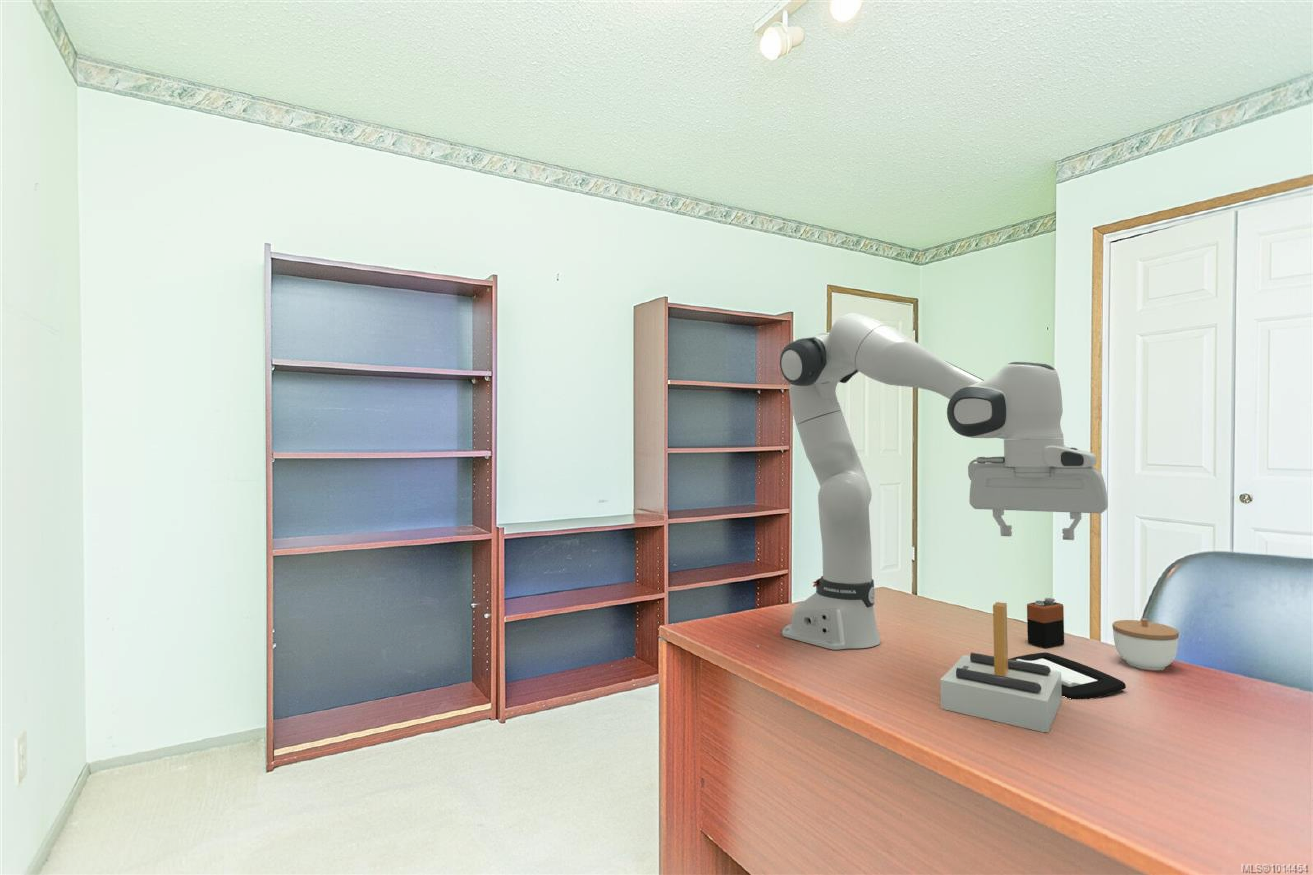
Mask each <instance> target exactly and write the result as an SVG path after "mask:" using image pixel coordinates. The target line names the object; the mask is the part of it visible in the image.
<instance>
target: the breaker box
mask: <svg viewBox="0 0 1313 875" xmlns="http://www.w3.org/2000/svg"><path fill="white" fill-rule="evenodd" d="M969 654H970V655H966V654H963V655H962V656H961V657H960V658H959V660H958V661H956V662H955V663H954V665H952V667H950V669H949V670H948V671H947V672H946V673H945V674H944V675H943V676H942V677H941V678H940V684H939V685H940V709H941V710H946V711H950V712H954V713H958V714H963V715H966V716H967V715H968V716H972V717H975V718H981V719H985V720H989V721H993V722H997V723H1002V724H1007V725H1010V726H1015V727H1020V728H1024V729H1029V730H1033V731H1036V732H1037V731H1038V732H1041V733H1045V732H1047V733H1046V734H1049V732H1050V730H1051V727H1052V724H1053V723H1054V720H1055V717H1056V715H1057V712H1058V711H1059V708H1060V706H1059V705H1061V704H1060V703H1062V701H1061V700H1063V697H1062V686H1061V672H1058V671H1052V670H1050V668H1049V667H1048V666H1046V665H1041V664H1035V663H1029V662H1023V661H1017V660H1012V659H1010V658H1008V673H1007V674H1006V675H1005V676H1000V675H994V655H988V654H981V653H978V652H977V653H975V652H970V653H969ZM1057 710H1058V711H1057ZM1049 729H1050V730H1049Z"/></svg>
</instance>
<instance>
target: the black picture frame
mask: <svg viewBox="0 0 1313 875" xmlns="http://www.w3.org/2000/svg"><path fill="white" fill-rule="evenodd" d="M1009 659H1012V660H1017V661H1023V662H1029V663H1035V664H1041V665H1046V666H1048V667H1049V668H1050V670H1052V671H1058V672H1061V686H1062V696H1065V697H1067V698H1071V699H1070V700H1072V699H1076V700H1091V699H1090V698H1093V699H1096V698H1097V699H1098V698H1104V697H1105V696H1109V695H1112V694H1117V693H1118V692H1121V691H1123V690H1125V689H1126V688H1127V686H1126V683H1125V682H1124V681H1123V680H1121V679H1119V678H1117V677H1114V676H1112V675H1110V674H1107V673H1105V672H1103V671H1100V670H1098V669H1095V668H1093V667H1091V666H1088V665H1085V664H1083V663H1080V662H1078V661H1074V660H1071V659H1069V658H1065V657H1063V656H1060V655H1056V654H1053V653H1050V652H1036V653H1035V652H1034V653H1030V654H1024V655H1018V656H1015V657H1014V656H1013V657H1011V658H1009ZM1065 697H1064V698H1065ZM1067 698H1066V699H1067Z"/></svg>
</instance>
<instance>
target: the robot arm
mask: <svg viewBox="0 0 1313 875" xmlns="http://www.w3.org/2000/svg"><path fill="white" fill-rule="evenodd" d="M779 367H780V371H781V375H782V376H783V378H784V379H785V380H786V382H788V383H789V384H790V385H789V388H788V394H789V401H790V402H789V403H790V407H791V412H792V415H793V420H794V423H795V425H796V429H797V432H798V435H799V437H800V441H801V443H802V446H803V449H804V453H805V455H806V458H807V460H808V461H809V464H810V466H811V468H812V470H813V473H814V474H815V477H816V479H817V482H818V485H819V486H820V488H819V489H818V490H819V491H818V492H817V493H818V495H817V501H818V516H819V528H820V536H821V538H820V539H821V548H822V553H821V554H822V575H821V576H820V578H818V579H816V580H815V581H813V582H812V583H813V585H812V588H814V587H815V588H816V590H815V593H813V594H812V595H810V596H808V598H806V599H805V600H803V601H802V602H801V603H799V604H798V605H796V607H795V608H794V611H793V613H792V617H791V623H790V624H787V625H785V627H783V629H782V631H781V636H783V637H785V638H788V639H792V640H795V641H796V640H797V641H798V642H799V641H800V642H803V643H806V644H811V645H814V646H818V647H821V648H825V649H829V650H834V651H835V650H837V651H839V650H845V649H865V648H871V647H875V646H877V645H879V644H881V641H882V640H881V637H880V634H879V630H878V626H877V620H876V614H875V608H874V605H875V601H876V600H875V599H876V589H875V583H874V582H875V581H874V579H873V572H872V571H873V568H872V566H873V564H872V561H873V560H872V541H871V525H870V524H871V523H870V503H871V500H872V488H871V485H870V483H869V480H868V478H867V475H866V472H865V470H864V467H863V465H862V462H861V459H860V457H859V455H858V452H857V450H856V447H855V446H854V445H855V444H854V442H853V439H852V437H851V434H850V431H849V428H848V425H847V422H846V420H845V416H844V413H843V411H842V407H841V405H840V403H839V400H838V398H837V397H838V396H837V394H836V393H837V392H836V391H837V386H838V384H839V383H840V384H841V383H842V384H846V383H848V382H849V381H850V380H851V379H852V378H853V377H854V376H855V375H856V374H858V373H861V374H863V375H864V376H866V377H867V378H870V379H872V380H873V381H876V382H879V383H882V384H885V385H890V386H895V387H906V388H916V389H922V390H927V391H931V392H934V393H936V394H937V395H938V394H939V395H941V396H942V397H945V398H946V399H948V400H949V401H948V404H947V407H946V417H947V421H948V424H949V425H950V428H952V430H953V431H954V432H956V433H957V434H958V435H960V436H963V437H966V438H971V439H1002V440H1003V453H1004V454H1003V456H990V457H989V456H987V457H986V456H978V457H976V458H975V459H973V460H971V461H970V462H969V464H968V465H967V472H968V473H967V475H968V478H969V480H970V484H969V501H968V502H969V504H970V505H971V507H972V508H973V509H975V510H992V517H993V518H994V520H995V522H996V523H997V525H998V526H999V527H1000V528H999V529H1000V530H999V531H1000V536H1001V537H1012V535H1013V533H1012V532H1013V531H1012V528H1013V527H1012V525H1009V524H1006V522H1005V520H1004V519H1003V516H1004V515H1005V511H1016V512H1017V511H1020V512H1021V511H1022V512H1023V511H1024V512H1048V513H1069V519H1070V520H1073V521H1072V523H1070V524H1071V525H1070V526H1068V527H1064V528H1062V540H1066V541H1074V540H1075V529H1076V528H1077V526H1078V525H1079V523H1080V521H1081V520H1082V519H1083V518H1082V514H1103V513H1104V512H1105V511H1107V510H1108V507H1109V504H1108V501H1109V500H1108V493H1107V488H1106V482H1105V479H1104V476H1103V474H1102V473H1101V470H1098V469H1097V468H1096V467H1094V466H1096V465H1097V461H1098V460H1097V456H1096V454H1095V453H1092V452H1090V451H1084V450H1081V449H1078V448H1076V447H1068V446H1065V442H1064V440H1065V438H1064V437H1065V436H1064V433H1063V430H1062V428H1061V420H1062V416H1063V397H1062V389H1061V382H1060V377H1059V374H1058V372H1057V370H1056V369H1055V368H1054V367H1053V366H1051V365H1049V364H1046V363H1039V362H1028V361H1027V362H1025V361H1014V362H1013V361H1012V362H1009V363H1006V364H1005V365H1004V366H1003V367H1002V368H1001V369H1000V370H999V371H998V372H996V373H995V374H992V375H991V376H989V377H988V378H986V379H983V378H982V377H981V378H980V377H978V376H976V375H974V374H973V373H971V372H969V371H967V370H965V369H962V368H961V367H958V366H956V365H954V364H952V363H951V362H950V361H949V362H948V361H946V360H944V359H943V358H942V357H940V356H938V355H937V354H935V353H934V352H932V351H931V350H929V349H928V348H926V347H924V346H923V345H921V344H919V343H918V342H917V341H915V340H914V339H912V338H911V337H909V336H907V335H906V334H905V333H903V332H901V331H899V330H898V329H897V328H894V327H893V326H891V325H889V324H887V323H885V322H883V321H881V320H879V319H876V318H873V317H871V316H868V315H865V314H861V313H857V312H849V313H846V314H844V315H841V316H840V317H838V318H837V319H836V321H835V322H834V323H833V325H832V327H831V329H830V330H829V332H823V333H819V334H816V335H812V336H809V337H803V338H799V339H796V340H794V341H791V342H789V343H788V344H787V345H785V347H784V348H783V349H782V351H781V353H780V356H779Z"/></svg>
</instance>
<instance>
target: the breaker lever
mask: <svg viewBox="0 0 1313 875" xmlns="http://www.w3.org/2000/svg"><path fill="white" fill-rule="evenodd" d="M1007 607H1008V605H1007V602H1000V601H996V602H995V603H994V604H993V605H992V617H993V618H992V619H993V622H992V623H993V624H992V626H993V656H994V675H1000V676H1005V675H1006V674H1007V673H1008V659H1009V652H1008V651H1009V650H1008V648H1009V647H1008V646H1009V645H1008V644H1009V643H1008V641H1009V640H1008V608H1007Z"/></svg>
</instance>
